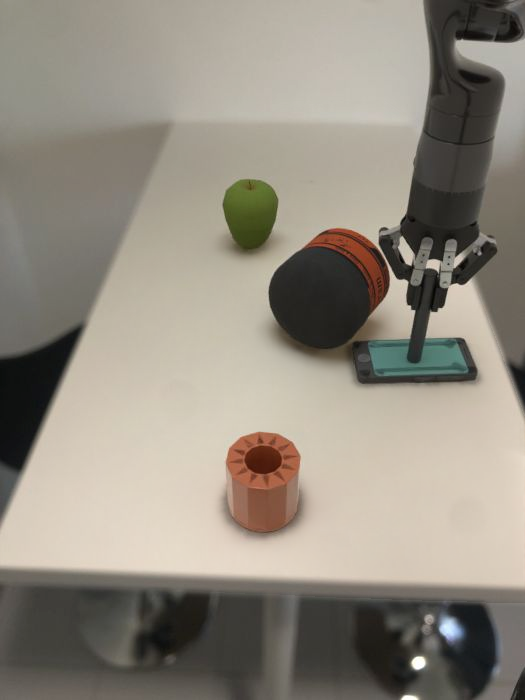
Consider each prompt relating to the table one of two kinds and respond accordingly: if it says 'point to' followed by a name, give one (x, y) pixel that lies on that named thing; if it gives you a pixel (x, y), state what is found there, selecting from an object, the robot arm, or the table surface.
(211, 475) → the table surface
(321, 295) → the oil filter
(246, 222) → the apple
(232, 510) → the pen pot
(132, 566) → the table surface
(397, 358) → the smartphone
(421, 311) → the stylus
